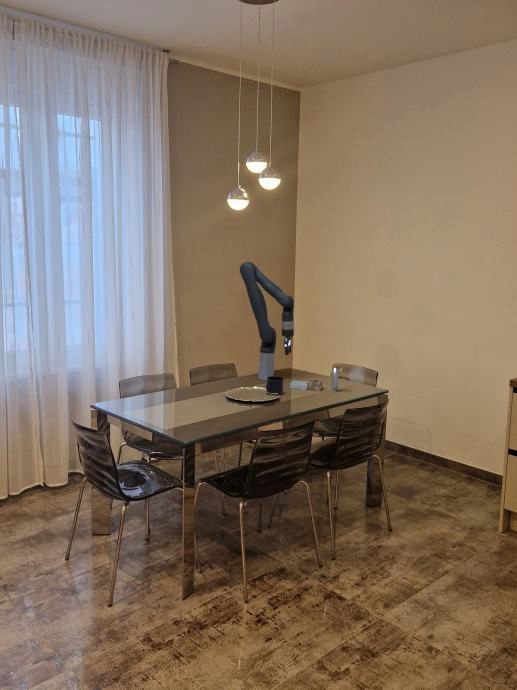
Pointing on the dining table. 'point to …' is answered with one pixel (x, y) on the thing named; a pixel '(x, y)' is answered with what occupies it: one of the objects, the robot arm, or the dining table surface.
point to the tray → (298, 385)
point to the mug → (274, 384)
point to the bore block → (314, 384)
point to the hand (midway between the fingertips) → (288, 353)
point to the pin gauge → (335, 378)
